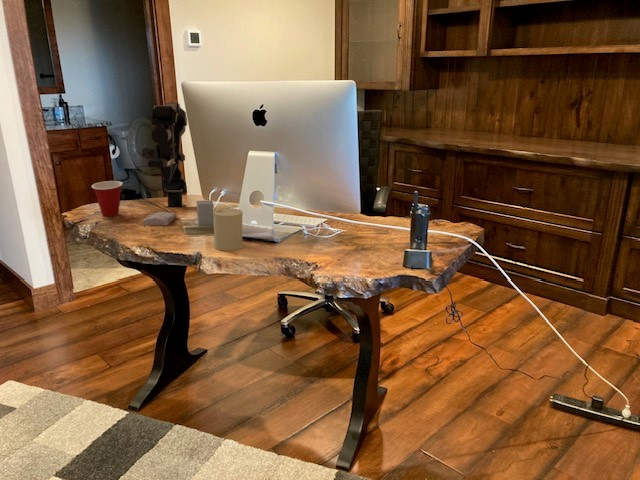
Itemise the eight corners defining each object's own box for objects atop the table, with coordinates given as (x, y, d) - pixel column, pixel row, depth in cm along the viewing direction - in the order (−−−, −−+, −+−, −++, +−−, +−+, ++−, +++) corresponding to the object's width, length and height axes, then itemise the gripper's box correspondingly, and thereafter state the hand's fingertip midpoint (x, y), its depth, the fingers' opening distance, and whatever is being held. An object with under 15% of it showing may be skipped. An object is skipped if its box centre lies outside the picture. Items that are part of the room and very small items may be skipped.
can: (217, 241, 170) (217, 206, 167) (245, 242, 170) (245, 207, 166) (210, 250, 162) (209, 213, 158) (239, 252, 161) (239, 214, 158)
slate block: (197, 225, 183) (196, 200, 180) (211, 224, 184) (211, 200, 181) (199, 229, 178) (198, 204, 175) (213, 228, 180) (213, 203, 177)
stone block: (142, 233, 182) (170, 229, 181) (138, 220, 180) (166, 215, 180) (151, 225, 193) (178, 221, 193) (148, 213, 192) (175, 208, 192)
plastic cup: (88, 214, 195) (85, 183, 191) (113, 209, 203) (110, 179, 200) (106, 220, 189) (103, 187, 185) (131, 214, 198) (128, 183, 194)
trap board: (180, 221, 191) (180, 212, 190) (221, 219, 196) (221, 211, 195) (185, 237, 173) (184, 228, 172) (229, 234, 178) (229, 225, 177)
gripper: (157, 136, 199) (160, 176, 203) (131, 142, 181) (134, 186, 186) (184, 138, 197) (186, 179, 201) (161, 144, 179) (163, 188, 184)
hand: (167, 182), depth 193 cm, fingers closed
